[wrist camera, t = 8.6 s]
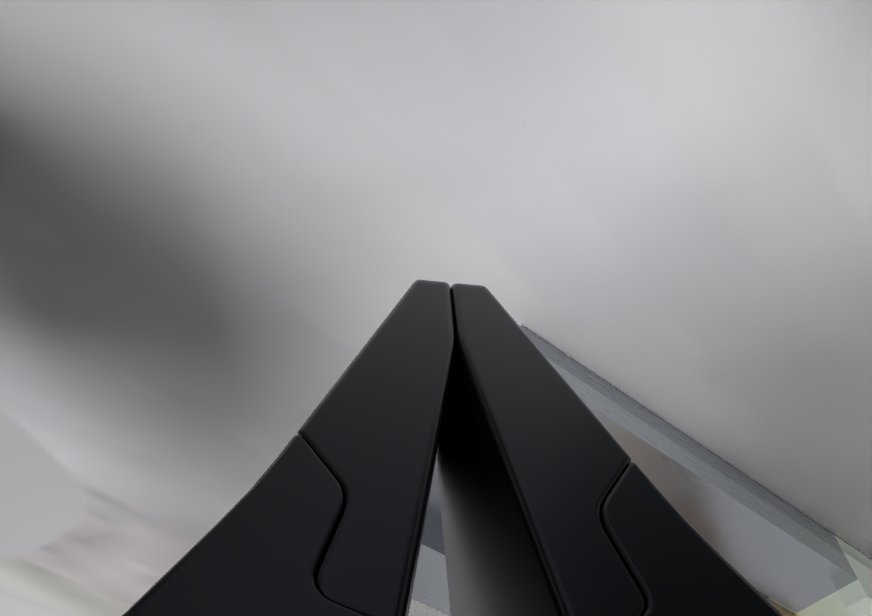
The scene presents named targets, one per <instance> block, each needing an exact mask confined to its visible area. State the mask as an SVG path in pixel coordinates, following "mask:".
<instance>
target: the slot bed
mask: <svg viewBox="0 0 872 616" xmlns="http://www.w3.org/2000/svg"><path fill="white" fill-rule="evenodd" d="M520 328H521V329H522V330H523V331H524V332H525V334H526V335H527V336H528V337H529V338H530V339H531V341H532V342H533V343H534V344H535V345H536V346H537V348H538V349H539V350H540V351H541V352H542V353H543V355H544V356H545V357H546V358H547V359H548V361H549V362H550V363H551V364H552V365H553V366H554V368H555V369H556V370H557V371H558V372H559V373H560V375H561V376H562V377H563V378H564V379H565V381H566V382H567V383H568V384H569V385H570V386H571V388H572V389H573V390H574V391H575V392H576V393H577V395H578V396H579V397H580V398H581V399H582V400H583V402H584V403H585V404H586V405H587V406H588V408H589V409H590V410H591V411H592V412H593V413H594V415H595V416H596V417H597V418H598V419H599V420H600V422H601V423H602V424H603V425H604V426H605V427H606V429H607V430H608V431H609V432H610V433H611V435H612V436H613V437H614V438H615V439H616V440H617V442H618V443H619V444H620V445H621V446H622V447H623V449H624V450H625V451H626V452H627V453H628V455H629V456H630V457H631V462H635V463H636V464H637V465H638V466H639V467H640V468H641V469H642V471H643V472H644V473H645V474H646V475H647V476H648V478H649V479H650V480H651V481H652V482H653V483H654V485H655V486H656V487H657V488H658V489H659V490H660V491H661V492H662V494H663V495H664V496H665V497H666V498H667V499H668V500H669V501H670V502H671V504H672V505H673V506H674V507H675V508H676V509H677V510H678V511H679V512H680V514H681V515H682V516H683V517H684V518H685V519H686V520H687V521H688V522H689V523H690V524H691V525H692V526H693V527H694V528H695V529H696V530H697V531H698V532H699V533H700V534H701V535H702V536H703V537H704V538H705V539H706V540H707V541H708V542H709V543H710V544H711V545H712V546H713V547H714V548H715V549H716V550H717V551H718V552H719V553H720V555H721V556H722V557H723V558H724V559H725V560H726V561H728V562H729V563H730V564H731V565H732V566H733V567H734V568H735V569H736V570H737V571H738V572H739V573H740V574H741V575H742V576H743V577H744V578H745V579H746V580H747V581H748V582H749V583H750V584H751V585H752V586H753V587H755V588H756V589H757V590H758V591H759V592H760V593H761V594H762V595H763V596H764V597H765V598H766V599H768V598H769V597H770V598H771V599H773V600H775V601H777V602H778V603H780V604H782V605H783V606H785V607H787V608H789V609H790V610H792V611H794V612H795V613H798V612H799V611H801V610H803V609H805V608H807V607H809V606H810V605H812V604H814V603H816V602H818V601H819V600H821V599H823V598H825V597H827V596H829V595H830V594H832V593H834V592H836V591H838V590H839V589H841V588H843V587H845V586H847V585H848V584H850V583H852V582H854V581H856V580H858V578H857V577H856V575H855V573H854V571H853V569H852V567H851V565H850V564H849V562H848V560H847V558H846V556H845V554H844V553H843V551H842V549H841V547H840V545H839V543H838V541H837V540H836V538H835V536H834V535H833V534H832V533H830V532H829V531H827V530H826V529H824V528H823V527H821V526H820V525H818V524H817V523H815V522H814V521H812V520H811V519H810V518H808V517H807V516H805V515H804V514H802V513H801V512H799V511H798V510H796V509H795V508H793V507H792V506H790V505H789V504H787V503H786V502H784V501H783V500H781V499H780V498H778V497H777V496H775V495H774V494H772V493H771V492H769V491H768V490H766V489H765V488H763V487H762V486H760V485H759V484H757V483H756V482H754V481H753V480H751V479H750V478H749V477H747V476H746V475H744V474H743V473H741V472H740V471H738V470H737V469H735V468H734V467H732V466H731V465H729V464H728V463H726V462H725V461H723V460H722V459H720V458H719V457H717V456H716V455H714V454H713V453H711V452H710V451H708V450H707V449H705V448H704V447H702V446H701V445H699V444H698V443H696V442H695V441H693V440H692V439H690V438H689V437H688V436H686V435H685V434H683V433H682V432H680V431H679V430H677V429H676V428H674V427H673V426H671V425H670V424H668V423H667V422H665V421H664V420H662V419H661V418H659V417H658V416H656V415H655V414H653V413H652V412H650V411H649V410H647V409H646V408H644V407H643V406H641V405H640V404H638V403H637V402H635V401H634V400H632V399H631V398H629V397H628V396H627V395H625V394H624V393H622V392H621V391H619V390H618V389H616V388H615V387H613V386H612V385H610V384H609V383H607V382H606V381H604V380H603V379H601V378H600V377H598V376H597V375H595V374H594V373H592V372H591V371H589V370H588V369H586V368H585V367H583V366H582V365H580V364H579V363H577V362H576V361H574V360H573V359H571V358H570V357H568V356H567V355H566V354H564V353H563V352H561V351H560V350H558V349H557V348H555V347H554V346H552V345H551V344H549V343H548V342H546V341H545V340H543V339H542V338H540V337H539V336H537V335H536V334H534V333H533V332H531V331H530V330H528V329H527V328H525V327H524V326H521V327H520ZM411 598H412V599H414V600H416V601H419V602H421V603H423V604H425V605H428V606H430V607H432V608H434V609H436V610H439V611H441V612H443V613H445V614H448V615H450V616H451V612H450V601H449V591H448V580H447V570H446V559H445V549H444V539H443V528H442V518H441V507H440V497H439V486H438V473H437V456H436V461H435V467H434V473H433V479H432V485H431V490H430V496H429V502H428V507H427V513H426V518H425V524H424V530H423V535H422V541H421V547H420V552H419V558H418V563H417V569H416V575H415V580H414V586H413V592H412V597H411Z"/></svg>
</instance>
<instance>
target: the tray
mask: <svg viewBox="0 0 872 616" xmlns="http://www.w3.org/2000/svg"><path fill="white" fill-rule="evenodd" d="M834 536H835V535H834ZM835 538H836V540H837V541H838V543H839V545H840V547H841V549H842V551H843V553H844V554H845V556H846V558H847V560H848V562H849V564H850V565H851V567H852V569H853V571H854V573H855V575H856V577H857V578H858V580H856V581H854V582H852V583H850V584H848V585H847V586H845V587H843V588H841V589H839V590H838V591H836V592H834V593H832V594H830V595H829V596H827V597H825V598H823V599H821V600H819V601H818V602H816V603H814V604H812V605H810V606H809V607H807V608H805V609H803V610H801V611H799V612H798V613H797V614H798V615H800V616H872V560H871V559H869V558H868V557H866V556H865V555H863V554H862V553H860V552H859V551H857V550H856V549H854V548H853V547H851V546H850V545H848V544H847V543H845V542H844V541H842V540H841V539H839V538H838V537H836V536H835ZM768 600H770V601H771V602H773V603H775V604H776V605H778V606H780V607H782V608H783V609H785V610H787V611H788V612H790V613H793V612H794V611H792V610H790V609H789V608H787V607H785V606H783V605H782V604H780V603H778V602H777V601H775V600H773V599H771V598H770V597H769V598H768Z"/></svg>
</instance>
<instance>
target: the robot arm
mask: <svg viewBox="0 0 872 616" xmlns="http://www.w3.org/2000/svg"><path fill="white" fill-rule="evenodd" d="M436 456H437V473H438V486H439V497H440V507H441V518H442V528H443V539H444V549H445V559H446V570H447V580H448V591H449V601H450V612H451V616H784V615H783V614H781V613H780V612H779V611H778V610H777V609H776V608H775V607H774V606H773V605H772V604H771V603H770V602H769V601H768V600H767V599H766V598H765V597H764V596H763V595H762V594H761V593H760V592H759V591H758V590H757V589H756V588H755V587H753V586H752V585H751V584H750V583H749V582H748V581H747V580H746V579H745V578H744V577H743V576H742V575H741V574H740V573H739V572H738V571H737V570H736V569H735V568H734V567H733V566H732V565H731V564H730V563H729V562H728V561H726V560H725V559H724V558H723V557H722V556H721V555H720V553H719V552H718V551H717V550H716V549H715V548H714V547H713V546H712V545H711V544H710V543H709V542H708V541H707V540H706V539H705V538H704V537H703V536H702V535H701V534H700V533H699V532H698V531H697V530H696V529H695V528H694V527H693V526H692V525H691V524H690V523H689V522H688V521H687V520H686V519H685V518H684V517H683V516H682V515H681V514H680V512H679V511H678V510H677V509H676V508H675V507H674V506H673V505H672V504H671V502H670V501H669V500H668V499H667V498H666V497H665V496H664V495H663V494H662V492H661V491H660V490H659V489H658V488H657V487H656V486H655V485H654V483H653V482H652V481H651V480H650V479H649V478H648V476H647V475H646V474H645V473H644V472H643V471H642V469H641V468H640V467H639V466H638V465H637V464H636V463H635V462H631V457H630V456H629V455H628V453H627V452H626V451H625V450H624V449H623V447H622V446H621V445H620V444H619V443H618V442H617V440H616V439H615V438H614V437H613V436H612V435H611V433H610V432H609V431H608V430H607V429H606V427H605V426H604V425H603V424H602V423H601V422H600V420H599V419H598V418H597V417H596V416H595V415H594V413H593V412H592V411H591V410H590V409H589V408H588V406H587V405H586V404H585V403H584V402H583V400H582V399H581V398H580V397H579V396H578V395H577V393H576V392H575V391H574V390H573V389H572V388H571V386H570V385H569V384H568V383H567V382H566V381H565V379H564V378H563V377H562V376H561V375H560V373H559V372H558V371H557V370H556V369H555V368H554V366H553V365H552V364H551V363H550V362H549V361H548V359H547V358H546V357H545V356H544V355H543V353H542V352H541V351H540V350H539V349H538V348H537V346H536V345H535V344H534V343H533V342H532V341H531V339H530V338H529V337H528V336H527V335H526V334H525V332H524V331H523V330H522V329H521V328H520V326H519V325H518V324H517V323H516V322H515V321H514V319H513V318H512V317H511V316H510V315H509V314H508V312H507V311H506V310H505V309H504V308H503V307H502V305H501V304H500V303H499V302H498V301H497V299H496V298H495V297H494V296H493V295H492V294H491V292H490V291H489V290H488V289H487V288H486V287H484V286H480V285H469V284H453V285H452V286H451V288H450V286H449V284H447V283H445V282H437V281H427V280H417V281H415V282H414V283H413V284H412V286H411V287H410V288H409V289H408V291H407V292H406V293H405V295H404V296H403V297H402V298H401V300H400V301H399V302H398V304H397V305H396V306H395V307H394V309H393V310H392V311H391V313H390V314H389V315H388V316H387V318H386V319H385V320H384V322H383V323H382V324H381V326H380V327H379V328H378V329H377V331H376V332H375V333H374V335H373V336H372V337H371V338H370V340H369V341H368V342H367V344H366V345H365V346H364V347H363V349H362V350H361V351H360V353H359V354H358V355H357V356H356V358H355V359H354V360H353V362H352V363H351V364H350V365H349V367H348V368H347V369H346V371H345V372H344V373H343V374H342V376H341V377H340V378H339V380H338V381H337V382H336V383H335V385H334V386H333V387H332V389H331V390H330V391H329V392H328V394H327V395H326V396H325V398H324V399H323V400H322V401H321V403H320V404H319V405H318V407H317V408H316V409H315V410H314V412H313V413H312V414H311V416H310V417H309V418H308V419H307V421H306V422H305V423H304V425H303V426H302V427H301V428H300V430H299V431H298V434H297V435H296V436H294V437H293V438H292V440H291V441H290V442H289V443H288V445H287V446H286V447H285V449H284V450H283V451H282V452H281V454H280V455H279V456H278V458H277V459H276V460H275V461H274V462H273V464H272V465H271V466H270V467H269V468H268V469H267V471H266V472H265V473H264V474H263V475H262V477H261V478H260V479H259V480H258V481H257V483H256V484H255V485H254V486H253V487H252V488H251V490H250V491H249V492H248V493H247V494H246V495H245V496H244V497H243V498H242V499H241V500H240V501H239V502H238V503H237V504H236V505H235V506H234V507H233V508H232V509H231V510H230V511H229V512H228V513H227V514H226V515H225V516H224V517H223V518H222V519H221V520H220V521H219V522H218V524H217V525H216V526H214V527H213V528H212V529H211V530H210V531H209V532H208V533H207V534H206V535H205V536H204V537H203V538H202V539H201V540H200V541H199V542H198V543H197V544H196V545H195V546H194V547H193V548H192V549H191V550H190V551H189V552H188V553H187V554H186V555H185V556H183V557H182V558H181V559H180V560H179V561H178V562H177V563H176V564H175V565H174V566H173V567H172V568H171V569H170V570H169V571H168V572H167V573H166V574H165V575H164V576H163V577H162V578H161V579H160V580H159V581H158V582H157V583H156V584H155V585H154V586H152V587H151V588H150V589H149V590H148V591H147V592H146V593H145V594H144V595H143V596H142V597H141V598H140V599H139V600H138V601H137V602H136V603H135V604H134V605H133V606H132V607H131V608H130V609H129V610H128V611H127V612H126V613H125V614H123V615H122V616H408V614H409V608H410V603H411V597H412V592H413V586H414V580H415V575H416V569H417V563H418V558H419V552H420V547H421V541H422V535H423V530H424V524H425V518H426V513H427V507H428V502H429V496H430V490H431V485H432V479H433V473H434V467H435V461H436Z"/></svg>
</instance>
